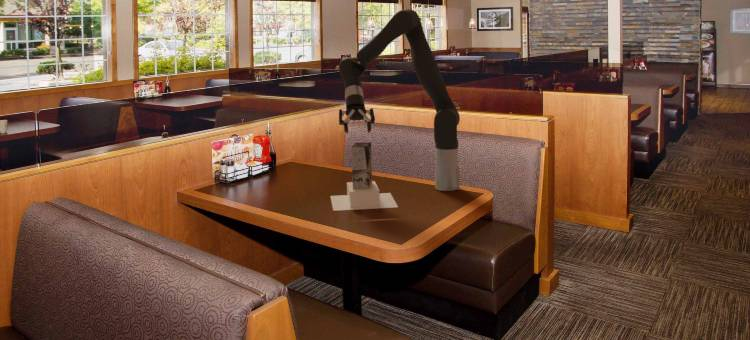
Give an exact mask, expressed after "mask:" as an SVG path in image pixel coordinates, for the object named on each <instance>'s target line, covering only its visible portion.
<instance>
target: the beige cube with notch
mask: <svg viewBox="0 0 750 340" xmlns="http://www.w3.org/2000/svg"><path fill="white" fill-rule="evenodd" d="M346 195H347V198H348V201H349V205H350V207H367V206H380V189H379V187H378V185H377V183H376V181H375V180H372V184H371V186H370V187H369V189H353V181H349V182H346Z"/></svg>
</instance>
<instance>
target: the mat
mask: <svg viewBox="0 0 750 340" xmlns="http://www.w3.org/2000/svg"><path fill="white" fill-rule="evenodd" d="M329 197H330V201H331V206H332V211H333V212H334V211H335V212H338V211H340V212H341V211H354V210H357V211H358V210H370V209H371V210H372V209H389V208H391V209H392V208H393V209H394V208H398V207H399V206H398V204H397V202H396V201H395V199H394V196H393V195H392V194H391V192H382V193H380V206H367V207H350V205H349V201H348V198H347V194H343V195H330V196H329Z"/></svg>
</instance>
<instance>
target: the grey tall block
mask: <svg viewBox="0 0 750 340" xmlns="http://www.w3.org/2000/svg"><path fill="white" fill-rule="evenodd" d="M372 165H373V163H372V142H355V143H353V144H352V146H351V169H352V170H351V175H352V180H351V182H353V189H369V187H370V186H371V184H372V181H373V166H372Z"/></svg>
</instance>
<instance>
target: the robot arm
mask: <svg viewBox="0 0 750 340" xmlns="http://www.w3.org/2000/svg"><path fill="white" fill-rule="evenodd" d="M403 35H405V37H406V39H407V41H408V44H409V46H410V51H411V59H412V65H413V66H412V67H413V70H414V72H415V74H416V77H417V80H418V81H419V83H420V85H421V87H422V88H423V90H424V91H425V92H426V94H427V95H428V96H429V98H430V100H431V102H432V104H433V106H434V109H435V112H436V113H435V115H434V119H433V139H434V140H433V141H434V145H435V151H434V152H435V157H434V158H435V162H434V166H435V167H434V168H435V169H434V170H435V172H434V173H435V174H434V175H435V176H434V177H435V178H434V181H435V183H434V186H435V187H434V189H435V190H437V191H441V192H452V191H457V190H459V191H460V166H459V140H458V126H459V125H460V124H459V123H460V120H461V118H460V113H459V111H458V109H457V107H456V105H455V104H454V102H453V100H452V98H451V96H450V94H449V91H448V89H447V86H446V83H445V80H444V78H443V75H442V72H441V70H440V68H439V65H438V62H437V60H436V58H435V56H434V54H433V51H432V49H431V47H430V45H429V43H428V42H429V41H428V40H427V38H426V34H425V31H424V28H423V25H422V21H421V18H420V16H419V14H418V13H417V12H416V11H415V10H414V9H410V8H406V9H400V10H397V12H395V13H394V15H392V17H391V18H390V20H388V22H387V23H386V24H385V25H384V26H383V28H382V29H381V30H380V31H379V32H378V33H377V34H376V35H375V36H374V37H373V38H372V39H370V40H369V41H368V42H367V43H366V44H365V45H363V46H362V47H361V48H360V49H359V50H358V51H357V52H356V59H357V60H358V61H356V60H355V59H352V57H349V56H348V57H347V56H346V57H344V58H342V59H341V60H340V62H339V64H338V70H339V74H340V77H341V79H342V82H343V84H344V101H345V110H342V109H339V110H338V125H340V126H343V131H344V133H346V134H348V133H349V123H351V122H356V121H358V122H359V121H362V122H363V123H365V124H366V131H367V133H368V134H369V133H370V132H371V131H372V124H375V123H376V122H375V121H376V117H375V113H374V108H370V109H366V107H365V98H364V97H365V96H364V91H363V87H362V81H361V77H363V75H364V74H365V71H366V70H367V68H368V67H369V65H371V63H373V61H375V60H376V59H377V58H378V57H380V55H381V54H382V53H383V52H384V51H385V50H386V48H387V47H388V46H389V45H390V44H391V43H392V42H393V41H395V40H396V39H398V38H400V37H401V36H403ZM367 115H368V116H370V118H369V117H368V116H367ZM344 116H346V117H345V119H344V120H343V117H344Z"/></svg>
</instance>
